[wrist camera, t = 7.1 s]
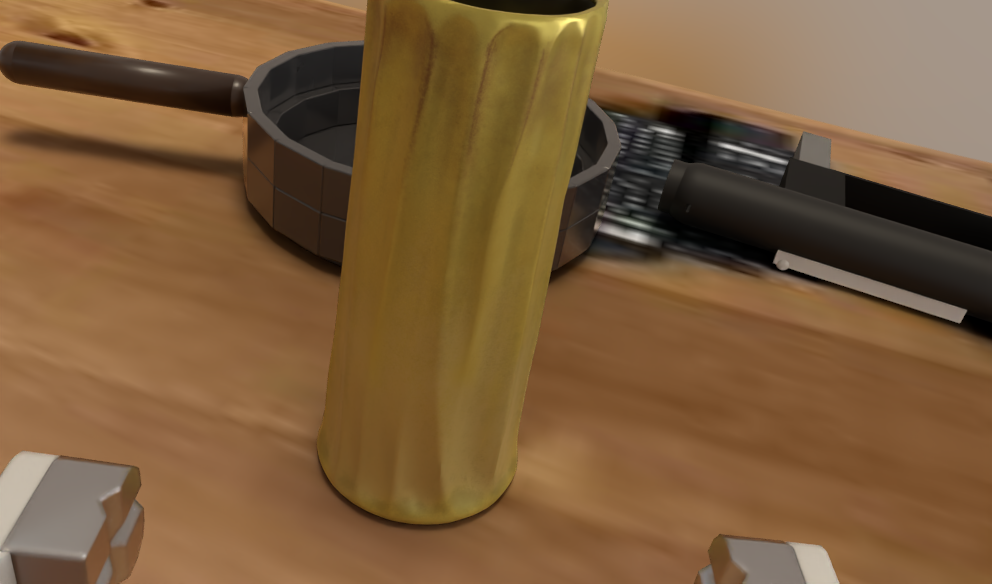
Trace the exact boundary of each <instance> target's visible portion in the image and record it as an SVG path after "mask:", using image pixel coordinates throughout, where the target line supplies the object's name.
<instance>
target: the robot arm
mask: <svg viewBox="0 0 992 584" xmlns="http://www.w3.org/2000/svg"><path fill="white" fill-rule="evenodd" d="M140 487H141V478H140V471H139V468H138V467H135V466H131V465H124V464H117V463H110V462H103V461H96V460H89V459H82V458H75V457H68V456H62V455H61V456H58V455H51V454H44V453H36V452H29V451H21V452H20V453H19V454H17V455H16V456H15V457H13V458H12V459H11V460H10V462H9V463H8V465H7V466H6V468H5V469H4V471H3V472H2V474H1V475H0V584H120V583H121V582H123V581H124V580H125V579H127V578H128V577H130V575H131V573H132V570H133V568H134V565H135V563H136V561H137V558H138V554H139V551H140V547H141V543H142V539H143V532H144V508H143V507H142V506H141V505H140V504H139V503H138V502H137V501H136V500H135V498H136V496H137V494H138V491H139V489H140ZM708 553H709V558H710V562H711V564H710V565H708V566H706V567H705V568H703V569H701V570H700V571H699V572H698V574H697V577H696V579H695V582H694V584H839V581H838V579H837V576H836V574H835V571H834V569H833V566H832V564H831V561H830V559H829V556H828V554H827V552H826V551H825V549H824V548H823V547H822V546H820V545H811V544H803V543H794V542H784V541H779V540H770V539H760V538H751V537H741V536H732V535H722V534H719V535H718V536H717V537H716V538H714V539H713V541H712V543H711V546H710V548H709V550H708Z"/></svg>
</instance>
